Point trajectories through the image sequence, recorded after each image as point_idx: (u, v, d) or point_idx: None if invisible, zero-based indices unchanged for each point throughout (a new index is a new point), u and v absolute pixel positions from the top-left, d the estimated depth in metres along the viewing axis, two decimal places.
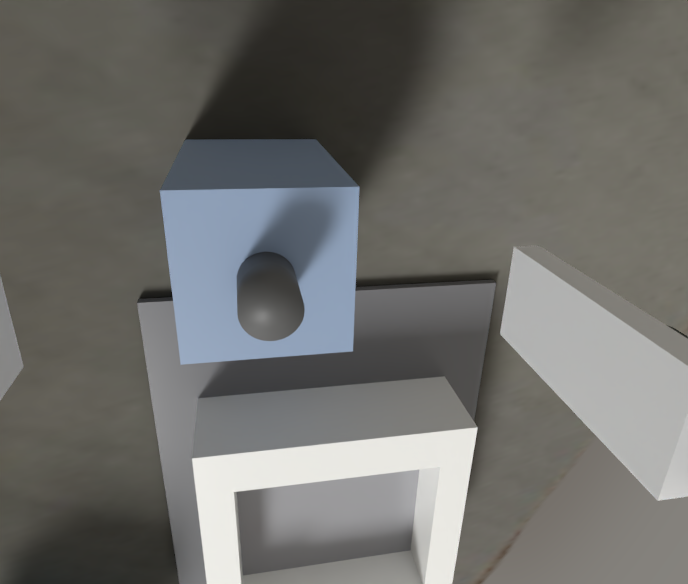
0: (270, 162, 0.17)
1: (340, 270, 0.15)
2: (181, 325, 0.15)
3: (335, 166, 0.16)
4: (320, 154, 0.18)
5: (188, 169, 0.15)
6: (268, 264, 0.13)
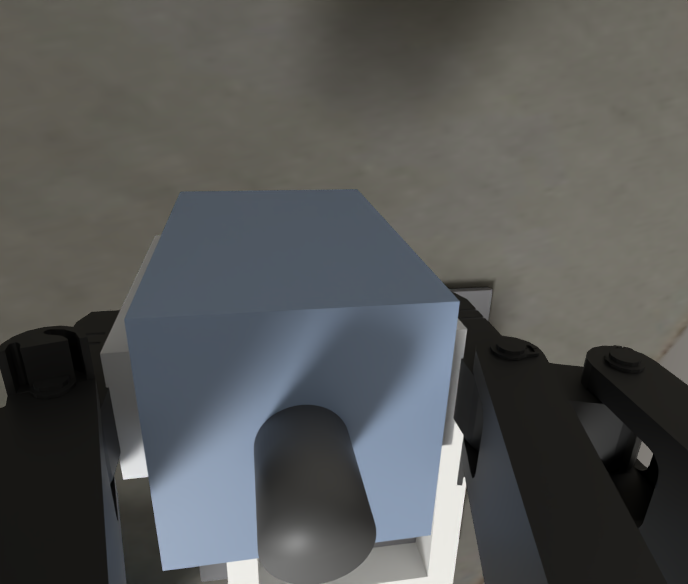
0: (303, 239, 0.11)
1: (419, 425, 0.09)
2: (163, 517, 0.09)
3: (402, 247, 0.11)
4: (372, 220, 0.12)
5: (178, 259, 0.10)
6: (310, 441, 0.08)
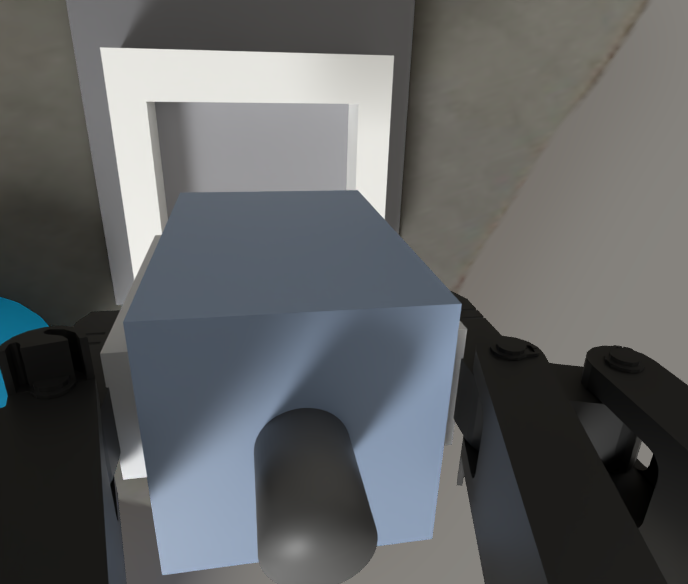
0: (303, 241, 0.11)
1: (421, 428, 0.09)
2: (161, 521, 0.09)
3: (403, 249, 0.11)
4: (373, 221, 0.12)
5: (178, 260, 0.10)
6: (310, 445, 0.08)
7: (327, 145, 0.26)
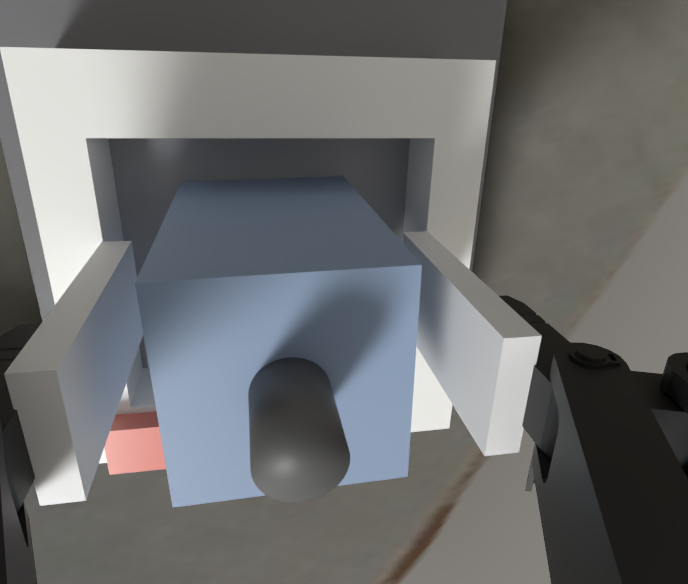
0: (290, 219, 0.12)
1: (392, 375, 0.11)
2: (171, 458, 0.10)
3: (378, 224, 0.12)
4: (354, 202, 0.14)
5: (180, 236, 0.11)
6: (294, 384, 0.09)
7: (375, 196, 0.17)
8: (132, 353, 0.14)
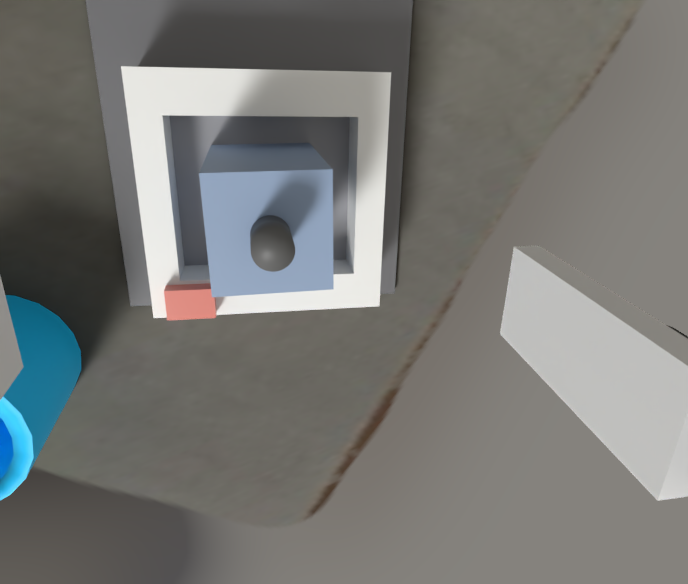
0: (273, 157, 0.23)
1: (321, 228, 0.21)
2: (212, 268, 0.21)
3: (319, 158, 0.23)
4: (310, 152, 0.25)
5: (216, 162, 0.22)
6: (271, 221, 0.20)
7: (329, 155, 0.28)
8: None
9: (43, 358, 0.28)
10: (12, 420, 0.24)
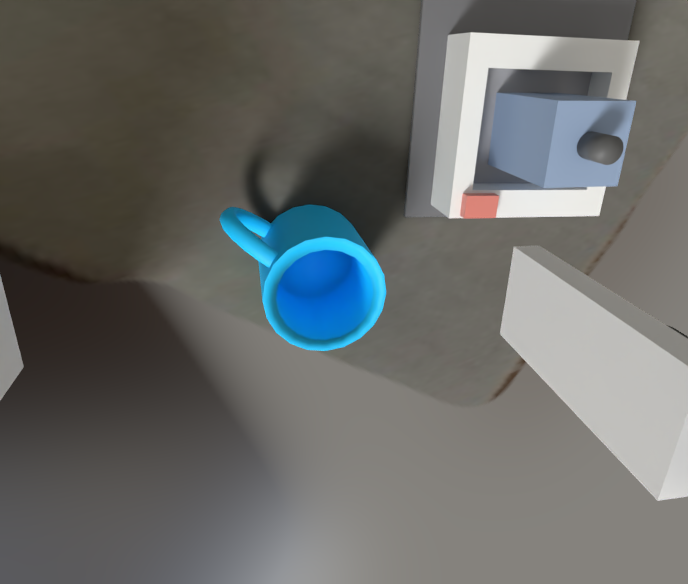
0: (571, 97, 0.34)
1: None
2: (549, 167, 0.32)
3: None
4: None
5: None
6: (601, 133, 0.30)
7: None
8: None
9: None
10: (377, 280, 0.35)
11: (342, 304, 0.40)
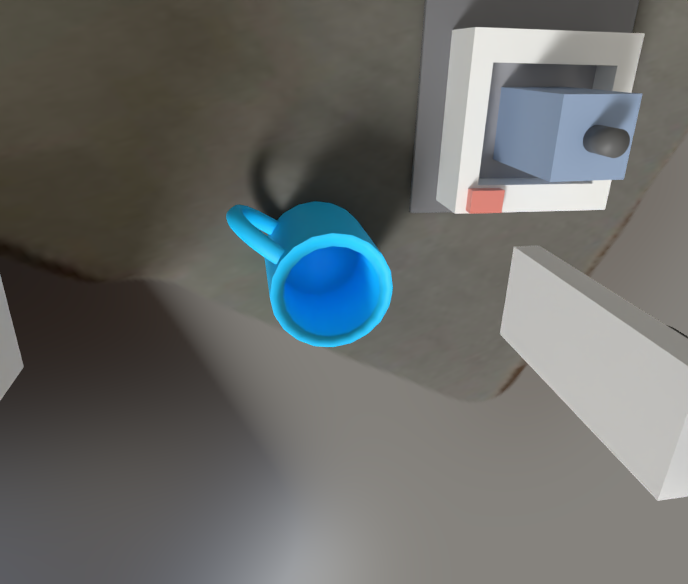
0: (576, 90, 0.34)
1: None
2: (555, 161, 0.32)
3: (611, 91, 0.33)
4: (589, 89, 0.35)
5: (549, 91, 0.32)
6: (607, 126, 0.30)
7: None
8: None
9: None
10: (384, 276, 0.35)
11: (349, 300, 0.40)
